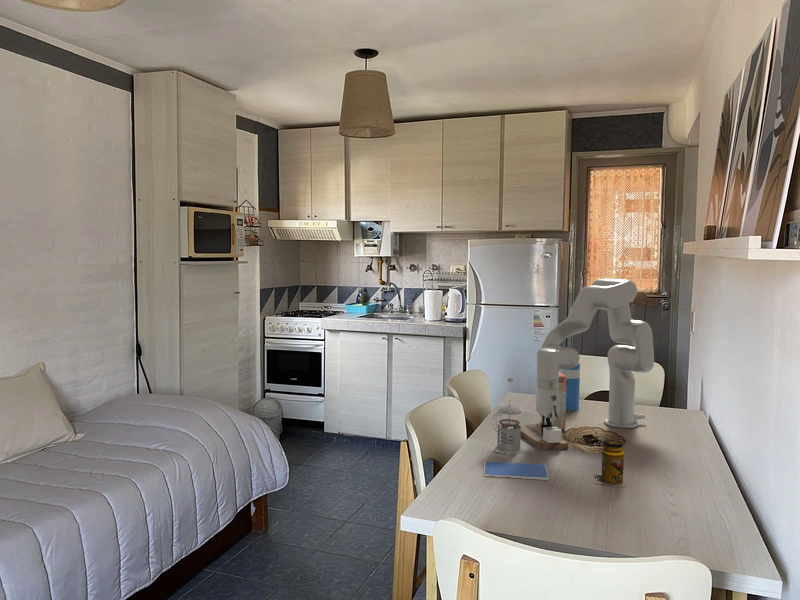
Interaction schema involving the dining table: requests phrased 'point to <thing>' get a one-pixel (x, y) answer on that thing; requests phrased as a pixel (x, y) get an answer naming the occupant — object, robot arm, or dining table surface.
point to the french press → (509, 430)
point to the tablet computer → (516, 470)
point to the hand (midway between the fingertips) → (546, 434)
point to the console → (539, 438)
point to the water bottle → (572, 387)
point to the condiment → (612, 464)
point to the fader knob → (552, 434)
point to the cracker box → (561, 402)
